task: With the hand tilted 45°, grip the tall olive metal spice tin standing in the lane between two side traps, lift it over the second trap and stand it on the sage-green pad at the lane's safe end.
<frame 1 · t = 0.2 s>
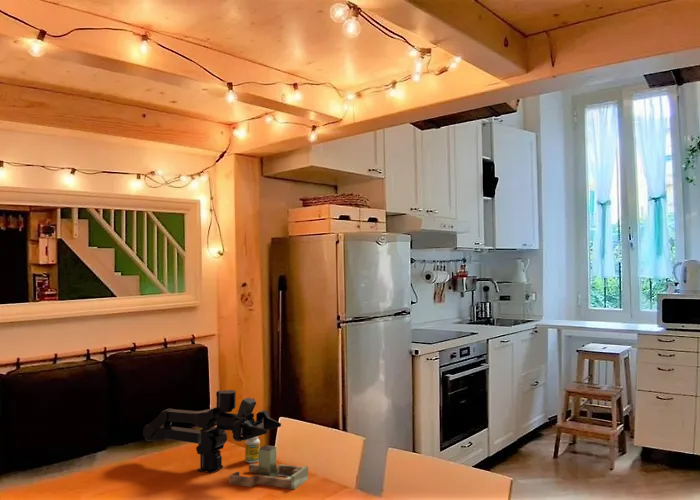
hand: (273, 428, 192), 16 cm above the table, tool horizontal, fingers open, 9 cm apart
supplement bottle: (252, 461, 210), on the table
olive tin: (267, 479, 191), resting in trap lane
trap lane: (271, 479, 191), on the table
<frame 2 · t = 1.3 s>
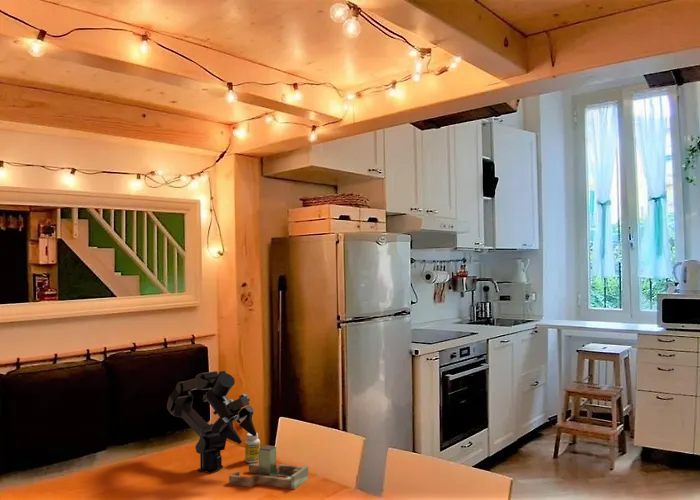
hand: (248, 439, 194), 12 cm above the table, tool tilted 45°, fingers open, 9 cm apart
nothing on the table moved.
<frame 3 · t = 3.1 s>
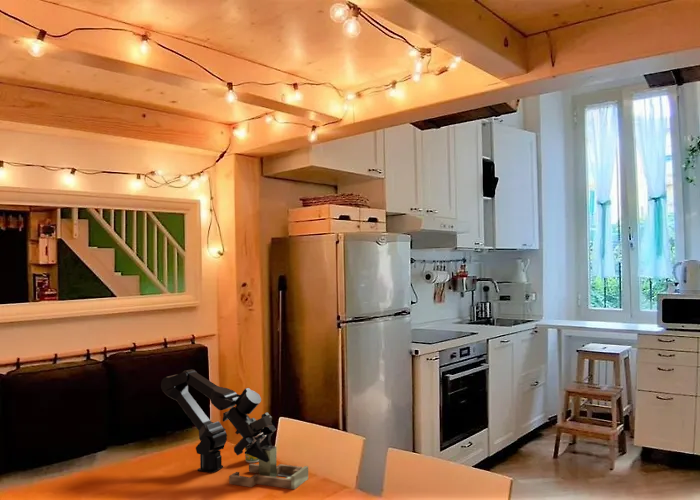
hand: (271, 459, 191), 7 cm above the table, tool tilted 45°, fingers closed on olive tin, 4 cm apart
olive tin: (267, 479, 191), resting in trap lane, touching gripper
everything else where it was.
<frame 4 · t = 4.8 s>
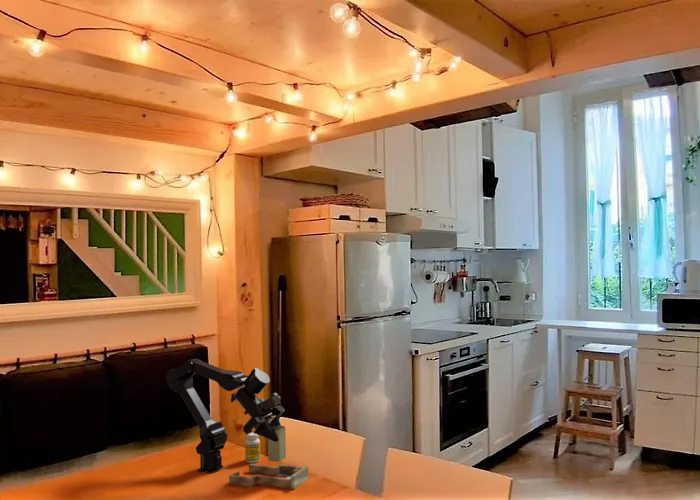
hand: (280, 439, 190), 13 cm above the table, tool tilted 45°, fingers closed on olive tin, 4 cm apart
olive tin: (277, 459, 190), point 7 cm above the table, touching gripper
everything else where it was.
when the fingers open (8 cm above the table, at t = 6.5 s): olive tin stays where it is, resting on trap lane.
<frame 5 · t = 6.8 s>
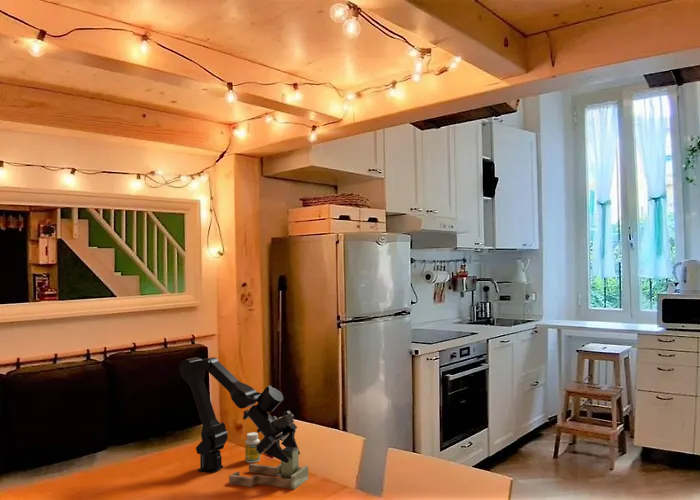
hand: (293, 458, 188), 8 cm above the table, tool tilted 45°, fingers open, 7 cm apart
olive tin: (289, 481, 188), resting on trap lane
everything else where it was.
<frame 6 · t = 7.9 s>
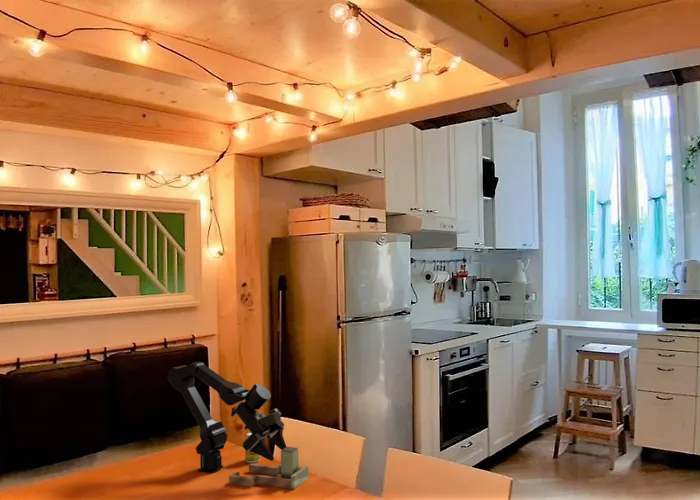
hand: (279, 455, 190), 8 cm above the table, tool tilted 45°, fingers open, 9 cm apart
nothing on the table moved.
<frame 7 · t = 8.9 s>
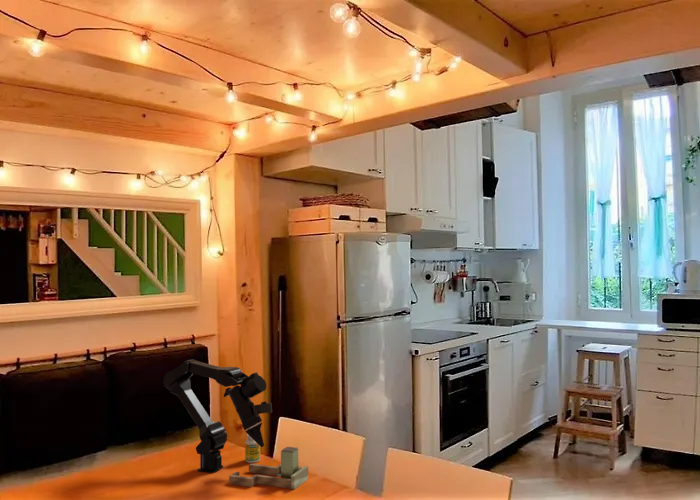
hand: (262, 446, 193), 10 cm above the table, tool tilted 30°, fingers open, 9 cm apart
nothing on the table moved.
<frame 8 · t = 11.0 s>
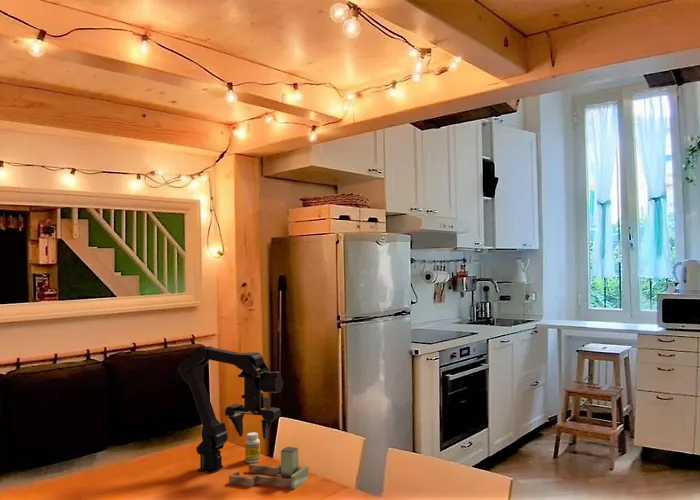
hand: (252, 437, 195), 12 cm above the table, tool pointing down, fingers open, 9 cm apart
nothing on the table moved.
at the end: olive tin 0.0 cm from the target spot on the trap lane, point 0.3 cm above the trap lane's base; olive tin tilted 0°; the gripper is holding nothing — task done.
